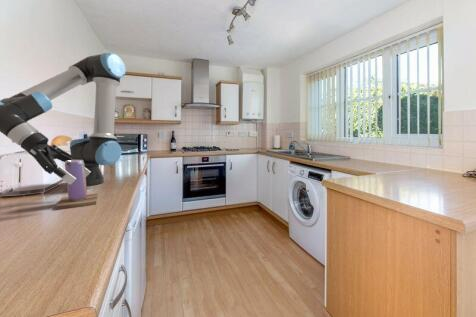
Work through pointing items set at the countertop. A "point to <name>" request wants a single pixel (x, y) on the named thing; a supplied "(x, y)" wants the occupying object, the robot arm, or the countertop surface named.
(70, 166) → the beverage can
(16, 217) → the countertop surface
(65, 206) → the walnut trivet
